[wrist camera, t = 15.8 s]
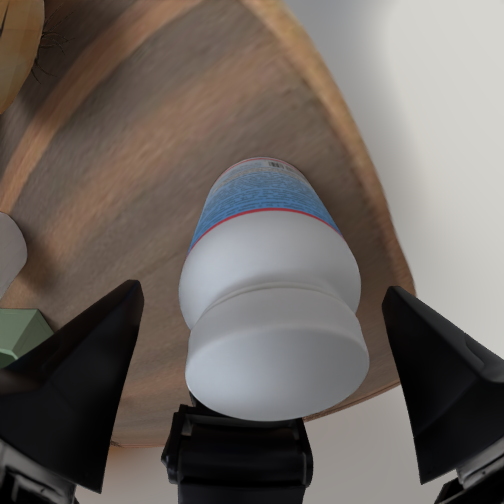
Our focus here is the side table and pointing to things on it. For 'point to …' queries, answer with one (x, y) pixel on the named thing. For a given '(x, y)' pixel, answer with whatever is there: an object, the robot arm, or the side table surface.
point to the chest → (20, 333)
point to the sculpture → (20, 44)
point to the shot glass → (10, 252)
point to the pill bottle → (270, 298)
